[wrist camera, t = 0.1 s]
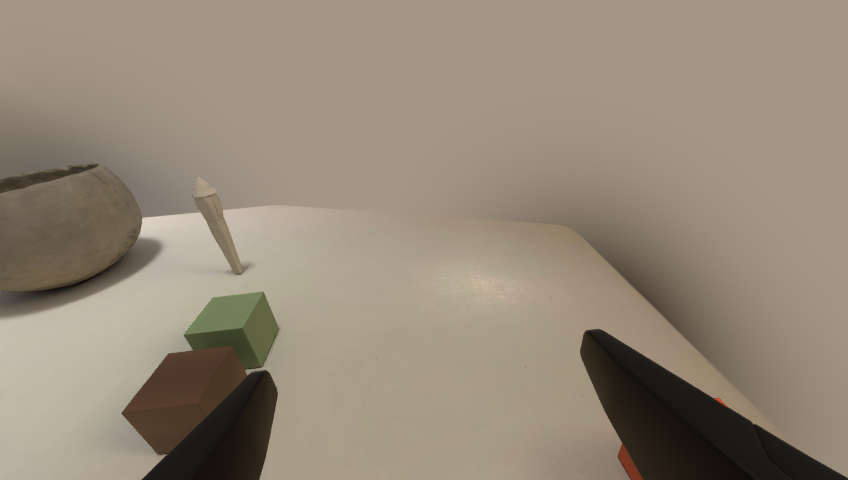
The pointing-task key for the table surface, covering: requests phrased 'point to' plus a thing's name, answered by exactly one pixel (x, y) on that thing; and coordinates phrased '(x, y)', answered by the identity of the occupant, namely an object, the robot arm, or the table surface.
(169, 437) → the walnut block
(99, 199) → the bowl
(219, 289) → the table surface
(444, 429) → the table surface
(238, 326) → the sage block
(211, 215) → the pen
